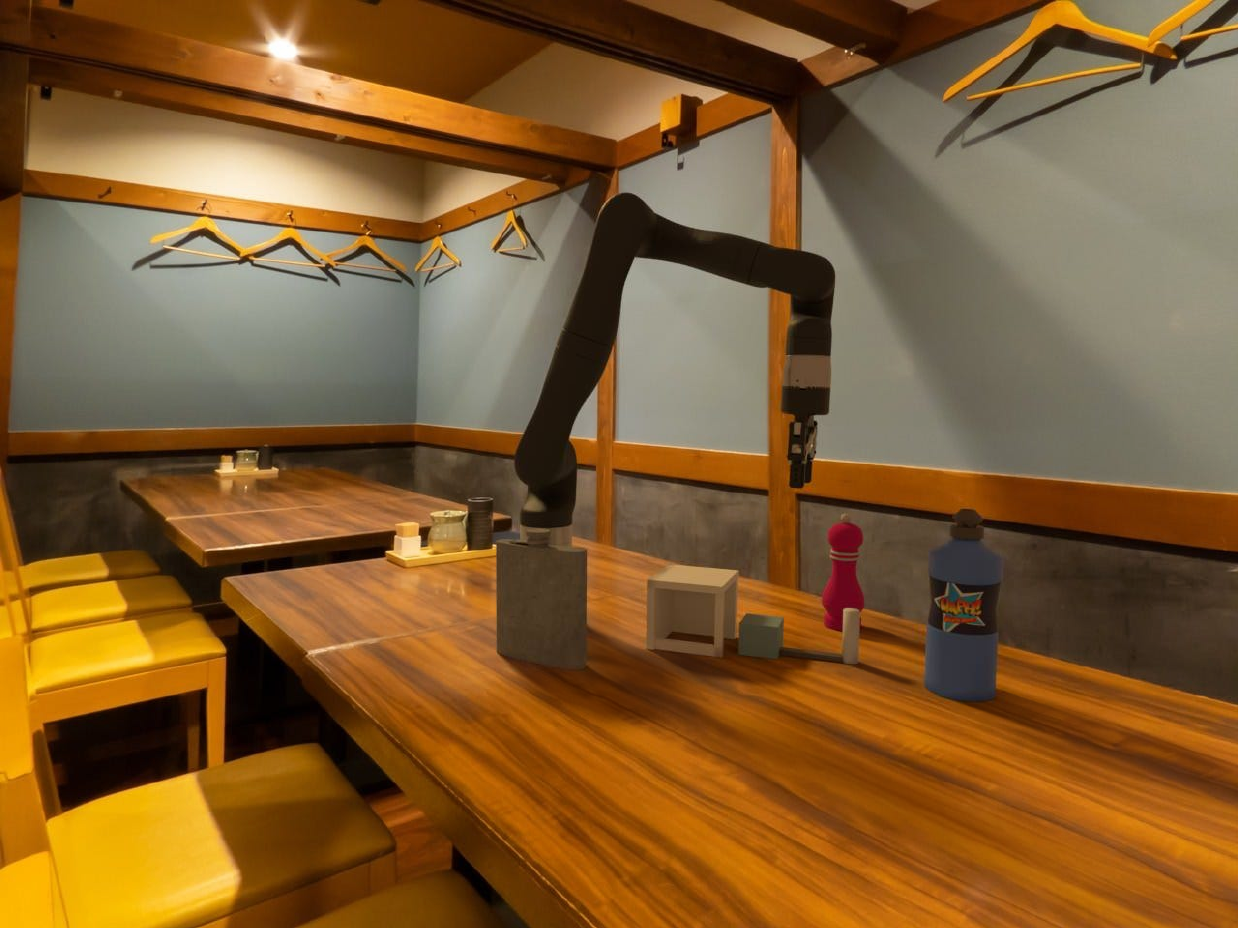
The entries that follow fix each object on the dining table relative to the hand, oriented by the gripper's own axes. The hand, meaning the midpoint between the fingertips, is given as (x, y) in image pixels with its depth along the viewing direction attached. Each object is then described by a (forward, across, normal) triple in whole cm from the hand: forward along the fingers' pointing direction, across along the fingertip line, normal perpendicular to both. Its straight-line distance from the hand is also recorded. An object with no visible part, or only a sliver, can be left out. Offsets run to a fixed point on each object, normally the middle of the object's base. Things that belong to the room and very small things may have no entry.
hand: (800, 485), depth 124 cm
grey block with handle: (+26, +7, +2) cm, 27 cm away
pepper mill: (+26, -12, +7) cm, 29 cm away
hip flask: (+27, +24, -34) cm, 50 cm away
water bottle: (+25, +12, +25) cm, 38 cm away
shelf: (+26, +7, -15) cm, 31 cm away
